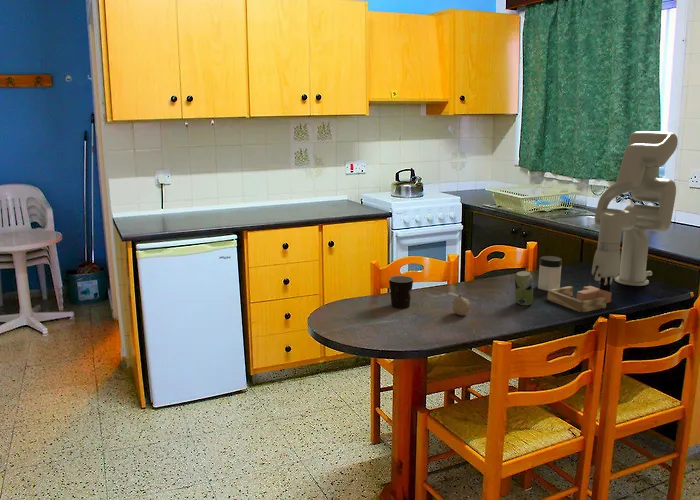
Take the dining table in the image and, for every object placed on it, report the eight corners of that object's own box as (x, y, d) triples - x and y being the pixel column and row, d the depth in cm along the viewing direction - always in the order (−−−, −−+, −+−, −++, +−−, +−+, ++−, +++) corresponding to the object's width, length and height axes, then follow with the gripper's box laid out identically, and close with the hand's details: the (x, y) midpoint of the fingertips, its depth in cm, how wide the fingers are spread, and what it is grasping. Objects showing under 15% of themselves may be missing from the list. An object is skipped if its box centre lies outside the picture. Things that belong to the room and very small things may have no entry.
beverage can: (536, 303, 233) (538, 271, 230) (526, 308, 227) (528, 275, 225) (520, 300, 237) (522, 268, 234) (510, 304, 231) (512, 272, 229)
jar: (564, 288, 251) (567, 258, 248) (552, 292, 246) (555, 262, 243) (545, 283, 258) (547, 254, 255) (532, 287, 253) (534, 257, 250)
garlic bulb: (447, 313, 221) (448, 291, 220) (460, 310, 225) (461, 288, 223) (461, 318, 216) (462, 296, 214) (474, 315, 220) (475, 292, 218)
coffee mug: (399, 300, 236) (399, 274, 233) (417, 306, 230) (418, 279, 227) (377, 307, 228) (378, 280, 225) (396, 313, 222) (396, 285, 219)
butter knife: (451, 291, 247) (445, 292, 245) (495, 308, 227) (489, 310, 225) (451, 292, 247) (445, 294, 245) (495, 309, 227) (489, 311, 225)
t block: (589, 294, 243) (590, 285, 242) (610, 302, 234) (611, 292, 233) (569, 298, 239) (570, 289, 238) (590, 305, 230) (591, 296, 229)
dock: (569, 294, 243) (569, 286, 242) (605, 307, 228) (606, 298, 227) (545, 299, 238) (546, 290, 237) (581, 312, 223) (582, 302, 222)
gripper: (614, 242, 242) (610, 289, 246) (586, 246, 235) (582, 294, 239) (631, 246, 235) (626, 294, 239) (602, 250, 228) (598, 300, 232)
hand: (604, 294), depth 239 cm, fingers closed
